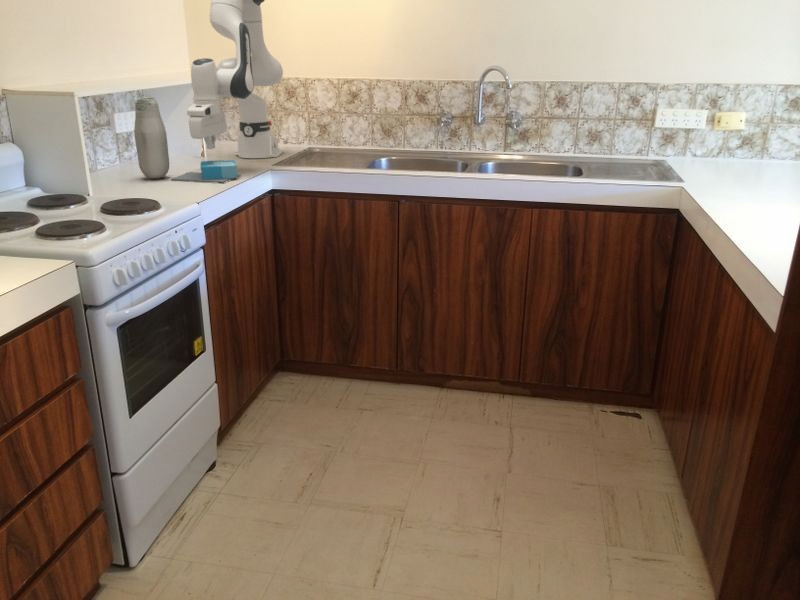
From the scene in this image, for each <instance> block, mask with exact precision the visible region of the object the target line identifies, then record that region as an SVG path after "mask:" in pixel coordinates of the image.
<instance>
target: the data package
mask: <svg viewBox="0 0 800 600" xmlns="http://www.w3.org/2000/svg"><path fill="white" fill-rule="evenodd" d="M237 169H238V168H237V164H236V160H234V159H228V160H227V159H226V160H225V159H222V160H203V161H200V171H201V172H200V173H201V174H202V179H203V180H212V179H233V178H236V179H237V175H238V170H237ZM233 180H234V179H233Z"/></svg>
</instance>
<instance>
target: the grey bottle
mask: <svg viewBox="0 0 800 600" xmlns="http://www.w3.org/2000/svg"><path fill="white" fill-rule="evenodd" d="M134 110H135V115H134V118H135V119H134V129H133V131H134V142H135V147H136V148H135V149H136V154H137V160H138V166H139V169H140V172H141V173H142V174H143V176H145V177H146V178H148V179H151V180H152V179H153V180H157V179H162V178H164V177H166V176H167V174H168V173H169V170H170V155H169V144H168V137H167V136H168V134H167V131H166V126H165V125H164V122H163V119H162V115H161V111H160V108H159V103H158V101H157V100H156V99H155V98H154V97H153V96H151V95H142V96H139V97H137V98H136V100H135V102H134Z"/></svg>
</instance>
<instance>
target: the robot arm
mask: <svg viewBox="0 0 800 600" xmlns="http://www.w3.org/2000/svg"><path fill="white" fill-rule="evenodd" d="M265 1H266V0H210V8H209V22H210V24H211V27H212V28H213V29H214V30H215V32H216V33H218V34H219V35H221V36H222V37H225V38H226V39H229V40H232V41H233V42H234V44H235V51H236V52H235V55H236V57H230V58H225V59H222V60H220V61H219V63H218V65H216V63H215V62H216V61H215V60H214V59H212V58H205V57H204V58H197V59H195V60H193V61H192V62H191V70H190V77H191V88H192V91H193V97H192V101H193V103H192V104H191V105H190V107H188V109H187V110H186V114H187V116H189V117H188V127H189V133H190V137H191V139H194V140H197V139H198V140H201V139H203V140H204V142H205V144H206V149H207V150H212V149H215V148H216V141H217V135H220V134H223V133H226V132H227V130H228V128H227V127H228V126H227V119H226V114H225V113H224V111H223V109H222V107H221V100H220V98H221V97H222V98H235V99H236V101H237V105H238V111H239V113H238V114H239V124H238V125H239V126H238V127H239V131H240V133H239V134H238V135H237V152H235V156H237V155H238V156H237V157H239V158H243V159H266V158H267V159H268V158H277V157H279V156H281V155H282V154H283V153H284V152H285V151H284V149H282V148H279V142H278V138H277V137H276V136H275V134H273V132H272V131H271V127H272V125H273V122H272V121H271V120H269V121H268V108H267V102H266V100H265V99H264V98H262V97H261V96H259V95H258V94H255V93H253V91H254V89H255V88H254V87H268V86H273V85H274V86H275V85H279V83H280V82H281V80H282V79H283V74H284V71H283V70H284V69H283V66H282V64H281V62H280V61H279V60H278V59H277V58H276V57H274V56H273V55H272V54H271V53H270V51H269V50H268V48H267V46H266V43H265V41H264V39H265V38H264V31H263V17H262V8H261V4H263V3H264V2H265Z"/></svg>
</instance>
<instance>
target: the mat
mask: <svg viewBox="0 0 800 600" xmlns="http://www.w3.org/2000/svg"><path fill="white" fill-rule="evenodd" d="M239 176H240V177H241V174H237V177H238V178H240V177H239ZM171 180H172V182H174V181H175V182H189V181H194V182H193V183H207V182H222V183H221V184H225V183H224V182H226V181H228V182H230V181H229V180H231V181H233V180H235V179H234V178H233V180H232V179H212V180H203V179H202V174H201V172H195V171H189V172H187V173H186V172H185V173H183V174H180V175H176V176H175V177H171V178H170V181H171ZM226 183H227V182H226Z"/></svg>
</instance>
